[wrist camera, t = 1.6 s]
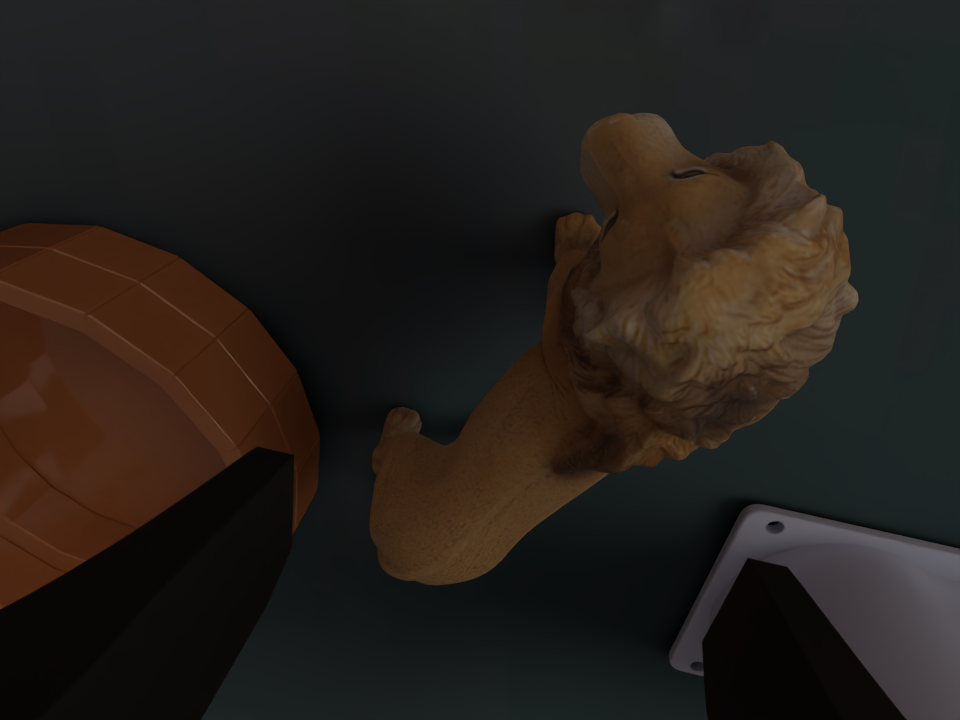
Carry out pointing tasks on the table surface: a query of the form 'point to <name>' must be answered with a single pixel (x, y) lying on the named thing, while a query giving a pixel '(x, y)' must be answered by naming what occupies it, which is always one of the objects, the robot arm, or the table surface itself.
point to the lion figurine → (627, 346)
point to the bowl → (124, 395)
